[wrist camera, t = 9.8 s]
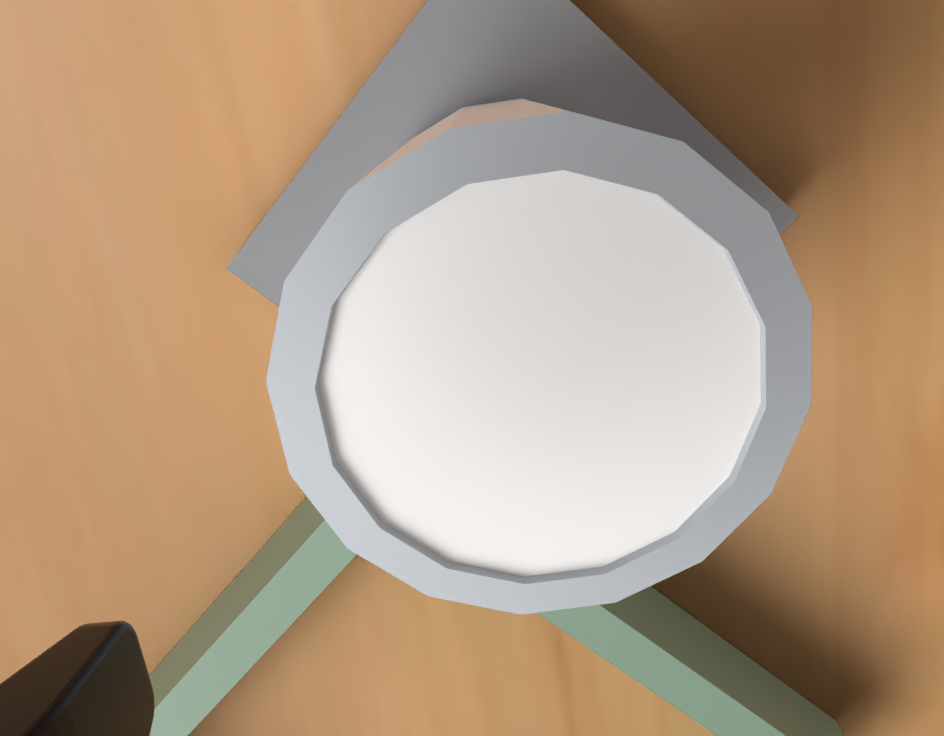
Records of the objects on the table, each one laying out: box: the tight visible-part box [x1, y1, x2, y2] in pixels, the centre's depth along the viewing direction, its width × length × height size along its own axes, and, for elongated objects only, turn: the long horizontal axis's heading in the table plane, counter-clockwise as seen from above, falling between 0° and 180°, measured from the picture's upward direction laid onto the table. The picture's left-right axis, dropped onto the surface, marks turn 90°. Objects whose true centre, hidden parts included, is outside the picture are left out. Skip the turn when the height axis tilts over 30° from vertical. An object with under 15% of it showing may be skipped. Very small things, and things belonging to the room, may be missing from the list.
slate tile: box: [226, 0, 798, 307], centre depth 18 cm, size 8×8×1 cm
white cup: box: [266, 98, 812, 615], centre depth 14 cm, size 7×7×7 cm
